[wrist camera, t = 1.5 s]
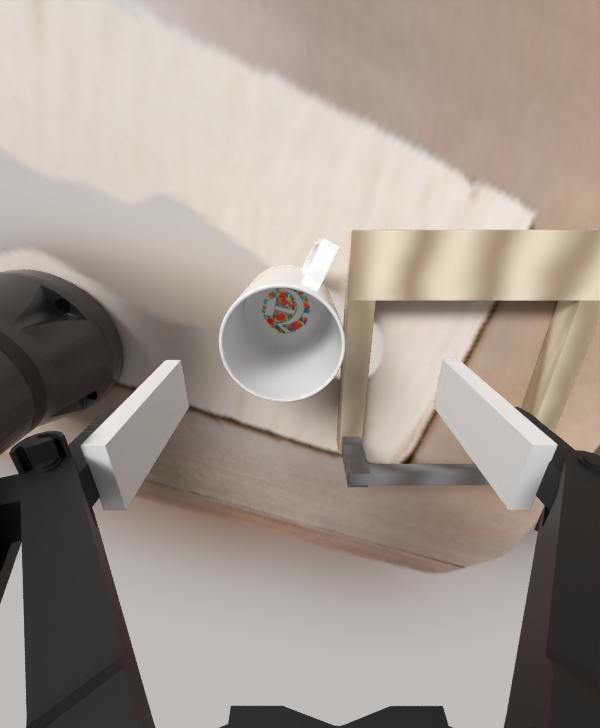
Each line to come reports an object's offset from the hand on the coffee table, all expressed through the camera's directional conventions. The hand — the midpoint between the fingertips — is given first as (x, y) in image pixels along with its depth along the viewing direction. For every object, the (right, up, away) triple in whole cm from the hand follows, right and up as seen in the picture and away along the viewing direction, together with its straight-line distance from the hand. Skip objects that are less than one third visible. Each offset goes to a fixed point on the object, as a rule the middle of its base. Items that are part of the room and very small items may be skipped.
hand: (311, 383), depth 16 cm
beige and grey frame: (+16, +2, +18) cm, 24 cm away
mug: (-1, +8, +16) cm, 18 cm away
